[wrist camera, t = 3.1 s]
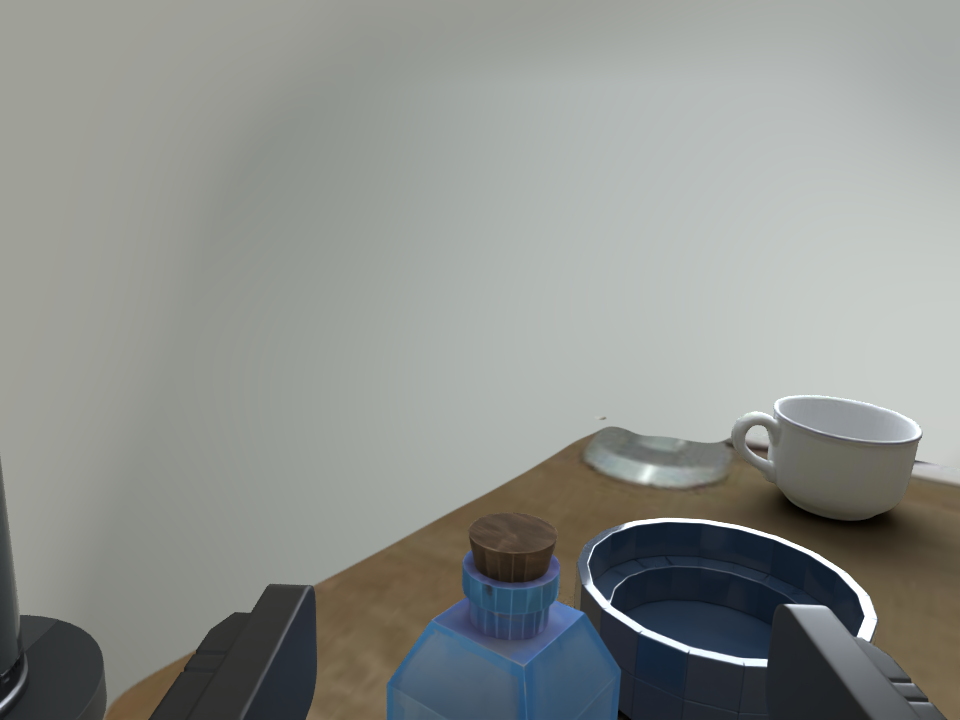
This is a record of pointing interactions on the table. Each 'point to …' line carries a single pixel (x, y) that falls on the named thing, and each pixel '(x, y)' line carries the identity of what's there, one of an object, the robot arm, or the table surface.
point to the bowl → (702, 612)
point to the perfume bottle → (507, 640)
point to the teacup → (834, 454)
